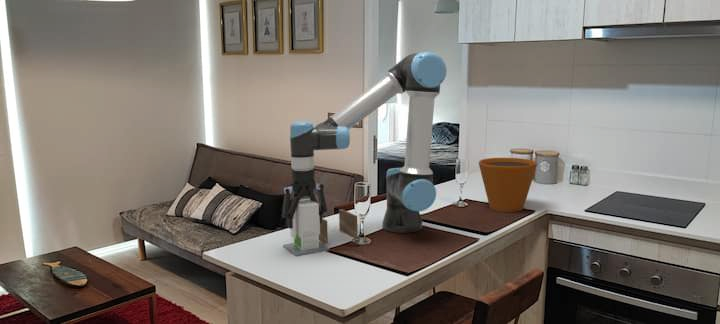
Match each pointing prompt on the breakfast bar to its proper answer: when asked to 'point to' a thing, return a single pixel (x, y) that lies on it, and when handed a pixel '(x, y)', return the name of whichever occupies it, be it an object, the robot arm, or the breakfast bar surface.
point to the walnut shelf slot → (341, 225)
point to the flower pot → (507, 182)
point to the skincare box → (307, 225)
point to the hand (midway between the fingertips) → (305, 235)
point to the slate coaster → (298, 252)
